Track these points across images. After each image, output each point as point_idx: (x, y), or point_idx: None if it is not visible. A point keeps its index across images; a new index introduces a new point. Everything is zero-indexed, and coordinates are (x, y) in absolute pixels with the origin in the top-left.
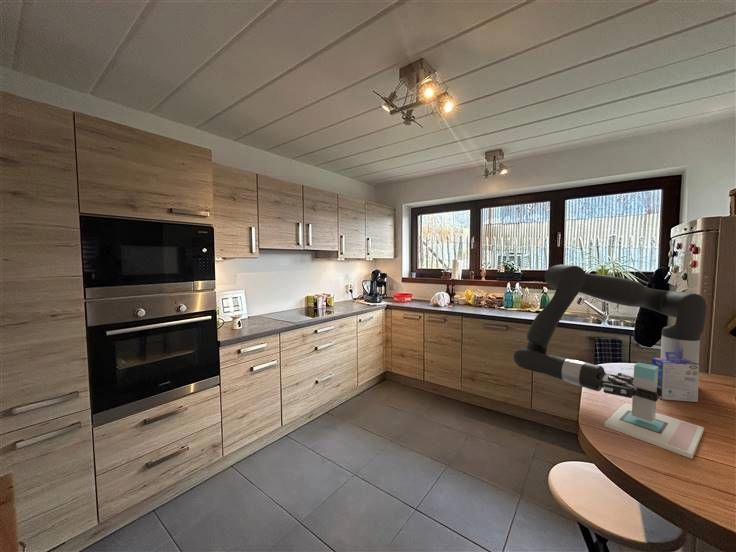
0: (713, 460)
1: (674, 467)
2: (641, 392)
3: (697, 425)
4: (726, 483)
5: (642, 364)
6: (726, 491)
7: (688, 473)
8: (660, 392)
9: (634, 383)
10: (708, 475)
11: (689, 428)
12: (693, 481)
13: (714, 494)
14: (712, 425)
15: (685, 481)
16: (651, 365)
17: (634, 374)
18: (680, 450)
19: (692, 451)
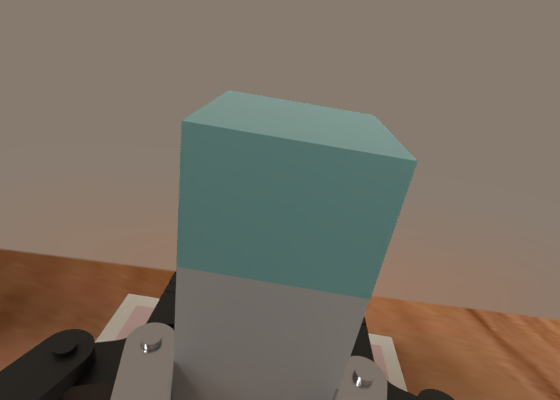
0: None
1: (499, 388)
2: (369, 350)
3: (120, 305)
4: (431, 306)
5: (271, 121)
6: (468, 311)
7: (485, 361)
8: None
9: (348, 356)
10: (437, 327)
11: None
12: (511, 355)
13: (511, 328)
14: (53, 282)
15: (537, 369)
16: (240, 100)
17: (373, 275)
18: (397, 360)
19: (369, 334)
